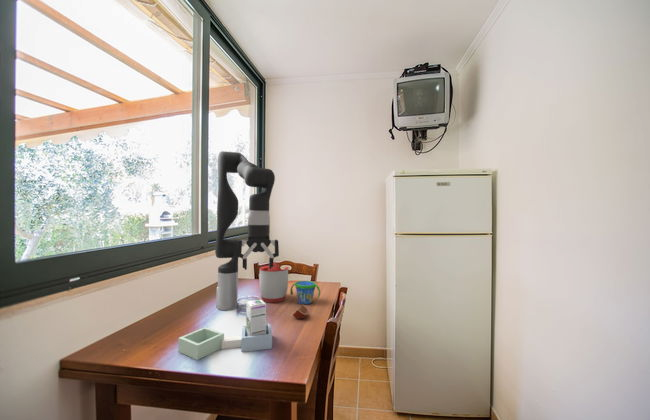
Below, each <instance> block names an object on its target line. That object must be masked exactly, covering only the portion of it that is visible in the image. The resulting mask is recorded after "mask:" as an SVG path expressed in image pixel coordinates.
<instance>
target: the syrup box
mask: <svg viewBox="0 0 650 420" xmlns="http://www.w3.org/2000/svg"><path fill="white" fill-rule="evenodd" d="M245 309H246V313H245V314H246V321H245V322H246V325H245V326H246V336H255V335H265V334H266V324H267V302H265V301H263V300H262V298H260V299H253V300H249V301H246V308H245Z"/></svg>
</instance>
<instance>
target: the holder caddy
mask: <svg viewBox="0 0 650 420" xmlns="http://www.w3.org/2000/svg"><path fill="white" fill-rule="evenodd" d="M177 343H178V344H177V345H178V346H177V348H178V350H177V351H178V353H180V354H182V355H185V356H187V357H190V358H192V359H194V360H196V361H198V359H199V360H201V359H202V357H203V358H204V356H205V357H206V356H209V355H210V354H212V353H215V352H217V351H218V350H220V349H221V350H225V349H234V348H241V350H240V351H241V353H243V352H244V353H245V352H251V351H261V350H270V349H273V332H272V326H271V323H266V334H265V335H255V336H246V325H242V329H241V335H236V336H235V335H234V336H226V337H225V333H223V332H221V331H218V330H215V329H212V328H209V327H202V328H200V329H197V330H195V331H192V332H189V333H187V334H184V335H183V336H182V335H181V336H180V337H178V342H177ZM200 358H201V359H200Z"/></svg>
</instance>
